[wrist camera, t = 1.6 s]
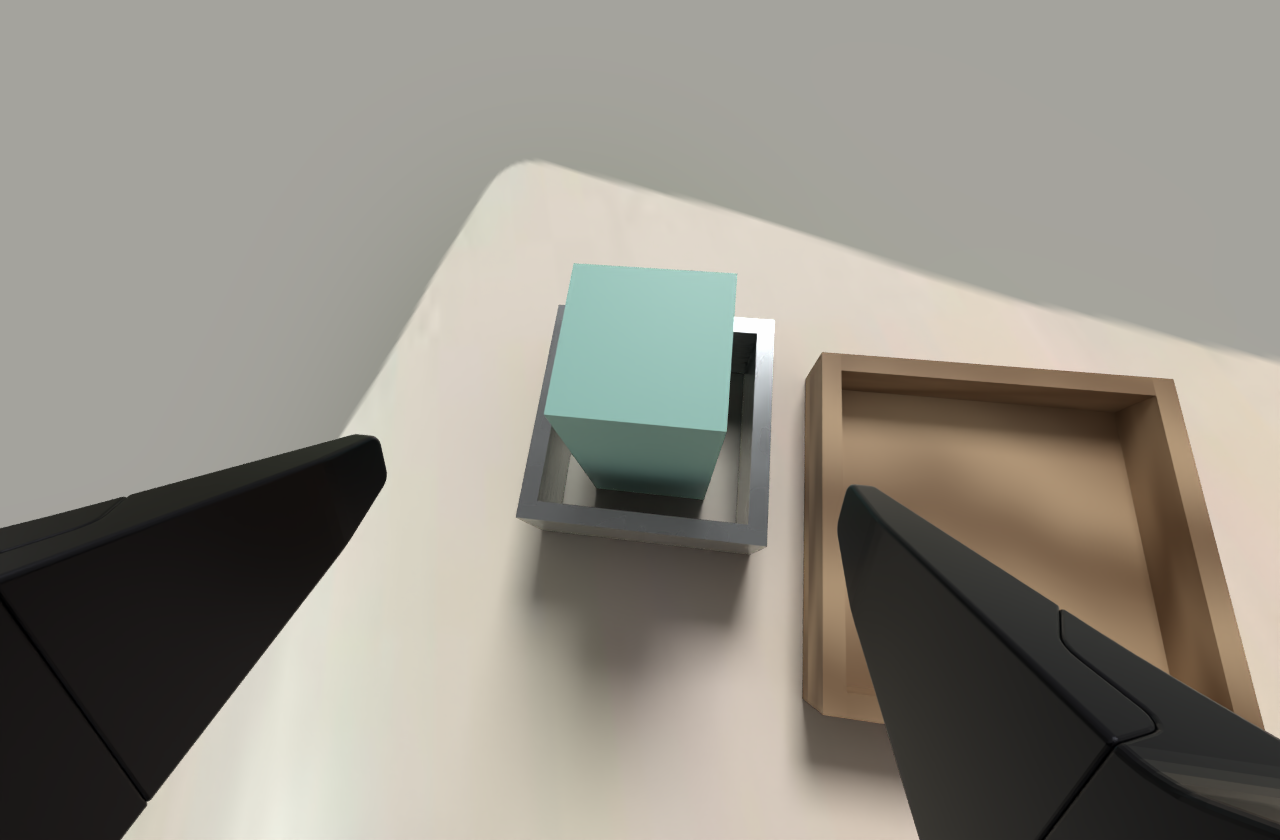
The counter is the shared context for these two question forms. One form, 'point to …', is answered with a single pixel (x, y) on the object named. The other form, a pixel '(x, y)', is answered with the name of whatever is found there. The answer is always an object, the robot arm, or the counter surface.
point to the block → (644, 376)
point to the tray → (1022, 508)
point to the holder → (742, 537)
